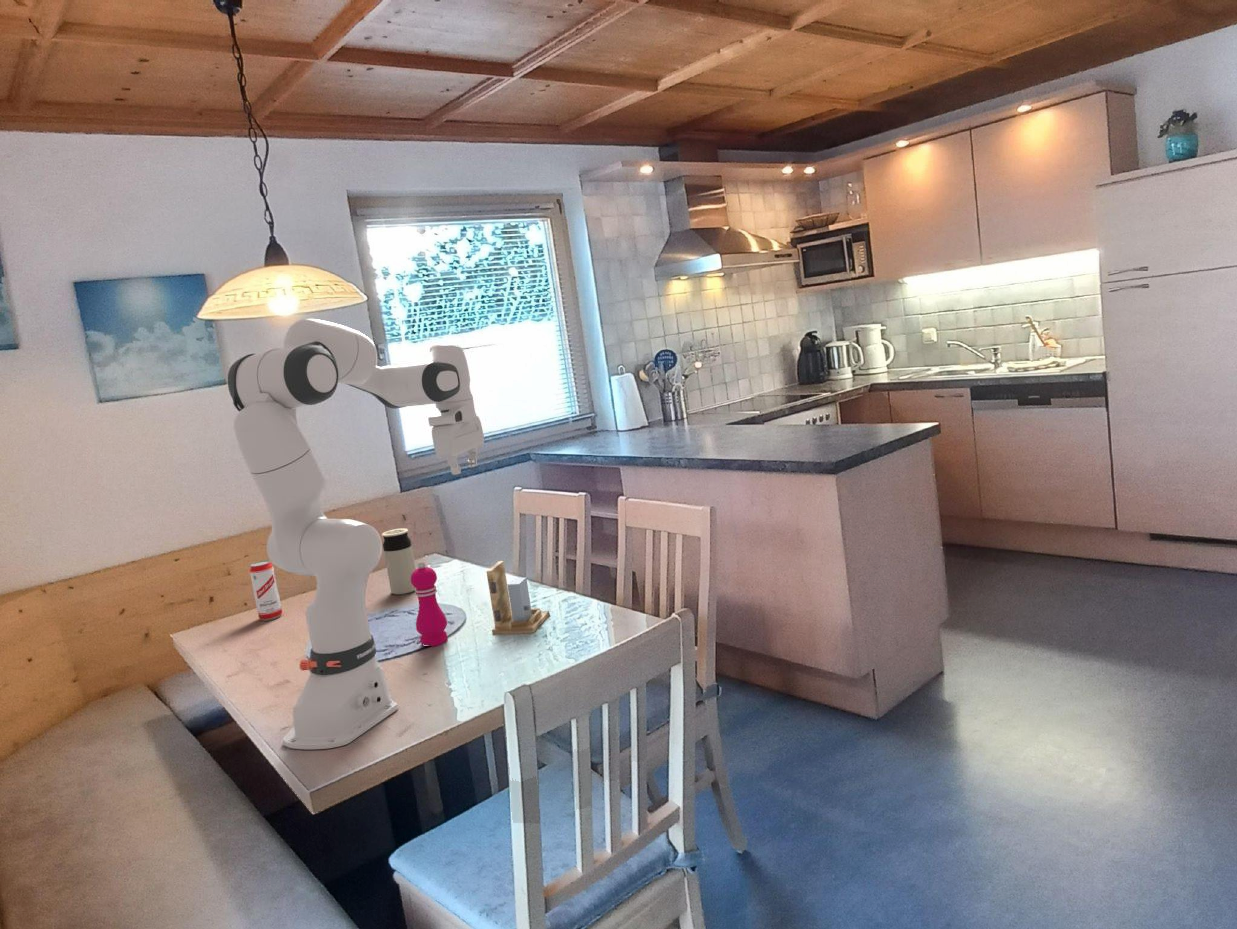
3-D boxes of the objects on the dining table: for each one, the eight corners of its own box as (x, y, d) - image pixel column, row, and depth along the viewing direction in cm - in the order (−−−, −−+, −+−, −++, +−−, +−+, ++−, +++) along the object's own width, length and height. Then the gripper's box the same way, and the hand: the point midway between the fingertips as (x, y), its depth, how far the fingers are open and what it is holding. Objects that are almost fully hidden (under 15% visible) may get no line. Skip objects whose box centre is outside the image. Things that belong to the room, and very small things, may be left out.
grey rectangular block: (529, 623, 199) (523, 583, 198) (513, 624, 200) (507, 584, 199) (536, 616, 204) (530, 577, 202) (520, 616, 205) (514, 577, 203)
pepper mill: (442, 647, 194) (428, 564, 190) (414, 648, 195) (399, 566, 192) (454, 635, 200) (441, 555, 197) (426, 636, 202) (413, 557, 199)
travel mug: (414, 593, 240) (404, 533, 238) (387, 596, 241) (377, 536, 238) (422, 585, 248) (412, 526, 245) (396, 588, 249) (385, 529, 246)
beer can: (284, 616, 234) (274, 562, 231) (261, 623, 231) (250, 567, 228) (280, 612, 239) (270, 558, 237) (257, 618, 236) (246, 564, 233)
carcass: (533, 632, 195) (524, 571, 193) (492, 634, 198) (483, 573, 196) (549, 614, 207) (541, 556, 205) (510, 616, 210) (502, 558, 207)
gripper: (462, 409, 207) (470, 463, 209) (424, 419, 188) (434, 479, 190) (485, 406, 205) (493, 461, 208) (449, 417, 186) (459, 477, 188)
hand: (465, 470), depth 199 cm, fingers open, 8 cm apart
